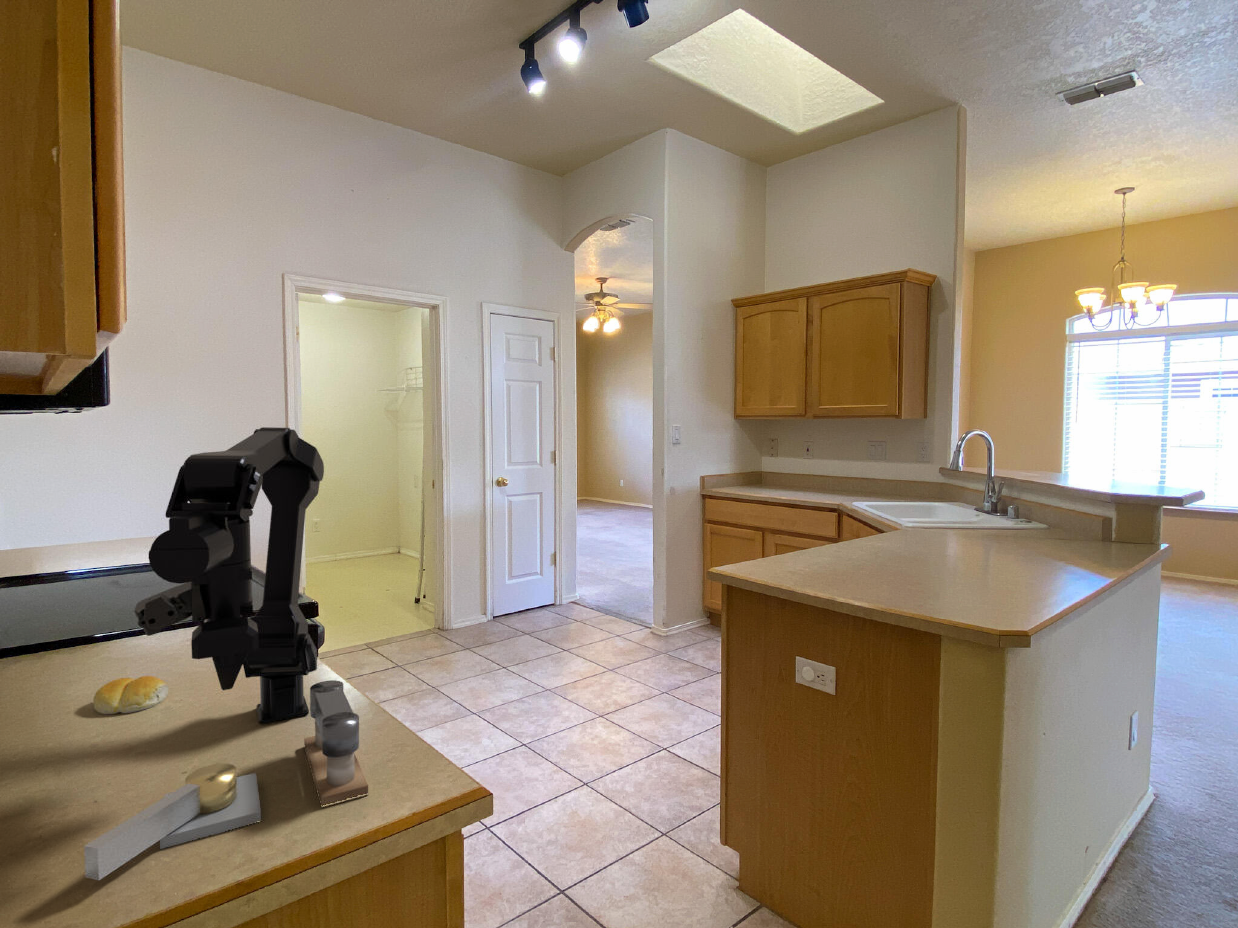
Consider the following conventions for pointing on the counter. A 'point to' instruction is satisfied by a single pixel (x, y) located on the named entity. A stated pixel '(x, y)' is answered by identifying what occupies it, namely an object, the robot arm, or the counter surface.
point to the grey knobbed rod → (334, 719)
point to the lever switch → (161, 818)
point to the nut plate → (221, 815)
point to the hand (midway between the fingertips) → (227, 688)
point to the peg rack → (334, 772)
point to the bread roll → (129, 695)
